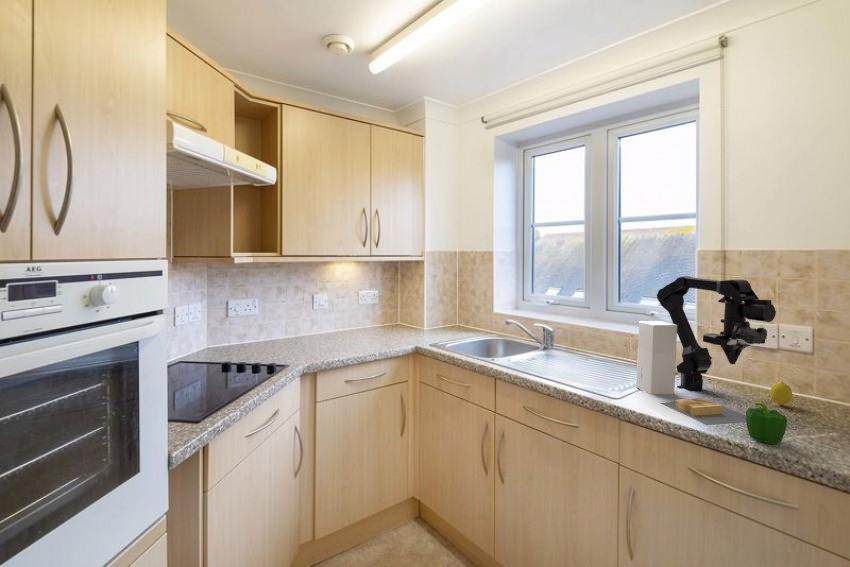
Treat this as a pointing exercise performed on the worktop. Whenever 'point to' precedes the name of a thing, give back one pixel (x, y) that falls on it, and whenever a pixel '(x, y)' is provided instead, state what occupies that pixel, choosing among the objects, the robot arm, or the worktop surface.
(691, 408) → the ochre block
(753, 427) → the bell pepper
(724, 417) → the rubber mat
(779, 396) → the lemon
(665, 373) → the tall white carton
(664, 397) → the worktop surface
